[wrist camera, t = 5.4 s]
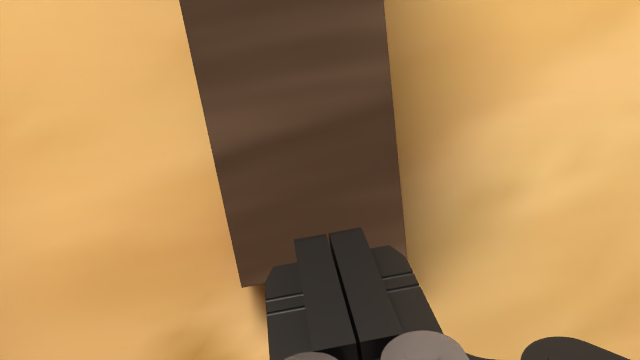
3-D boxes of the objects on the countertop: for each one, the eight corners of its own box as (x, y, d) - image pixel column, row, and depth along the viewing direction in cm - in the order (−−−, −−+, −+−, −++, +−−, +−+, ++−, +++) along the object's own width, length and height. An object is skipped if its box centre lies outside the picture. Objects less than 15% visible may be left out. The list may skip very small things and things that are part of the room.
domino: (406, 257, 17) (377, -67, 14) (241, 287, 17) (171, -36, 13) (393, 231, 19) (363, -62, 15) (242, 258, 18) (179, -36, 15)
